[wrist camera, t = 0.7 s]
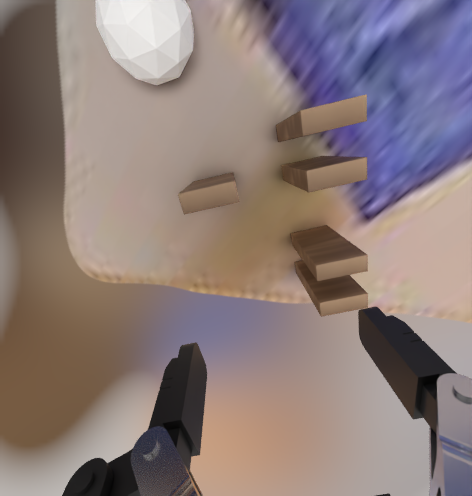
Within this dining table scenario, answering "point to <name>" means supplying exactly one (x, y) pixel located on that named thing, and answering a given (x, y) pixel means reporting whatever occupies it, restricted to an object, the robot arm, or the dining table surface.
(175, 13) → the perfume bottle
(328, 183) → the domino
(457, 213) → the dining table surface
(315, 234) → the domino
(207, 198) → the domino
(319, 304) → the domino
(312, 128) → the domino
